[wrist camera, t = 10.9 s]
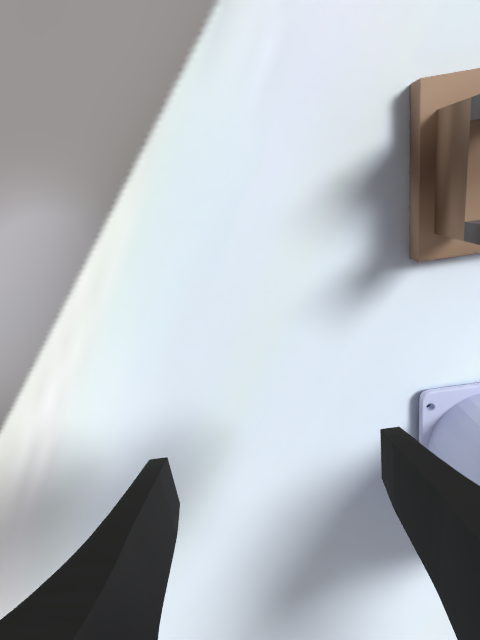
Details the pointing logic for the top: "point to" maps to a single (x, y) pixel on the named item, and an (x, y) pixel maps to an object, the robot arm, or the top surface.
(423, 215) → the stand
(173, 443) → the top surface
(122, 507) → the robot arm
